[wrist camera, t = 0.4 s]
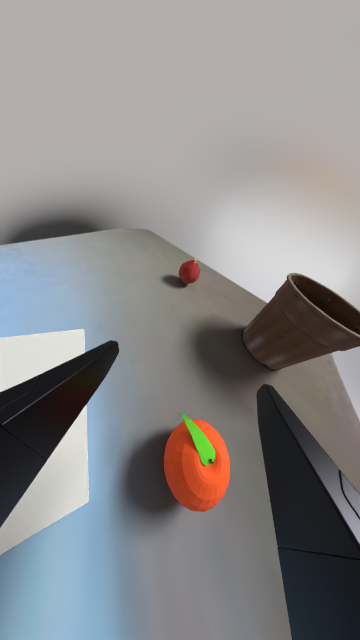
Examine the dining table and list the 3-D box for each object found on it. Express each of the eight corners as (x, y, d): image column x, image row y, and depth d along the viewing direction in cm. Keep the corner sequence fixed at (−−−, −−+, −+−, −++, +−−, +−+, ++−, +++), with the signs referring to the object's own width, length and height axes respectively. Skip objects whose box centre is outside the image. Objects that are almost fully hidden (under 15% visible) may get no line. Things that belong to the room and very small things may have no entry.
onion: (174, 276, 44) (182, 250, 38) (191, 279, 46) (201, 255, 40) (177, 288, 40) (187, 262, 35) (195, 290, 42) (207, 266, 37)
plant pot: (302, 363, 37) (386, 326, 25) (274, 394, 28) (384, 359, 16) (256, 316, 44) (305, 271, 32) (222, 330, 35) (273, 274, 24)
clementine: (144, 434, 18) (155, 430, 13) (187, 404, 22) (209, 392, 17) (175, 522, 14) (207, 563, 9) (220, 468, 18) (260, 476, 13)
